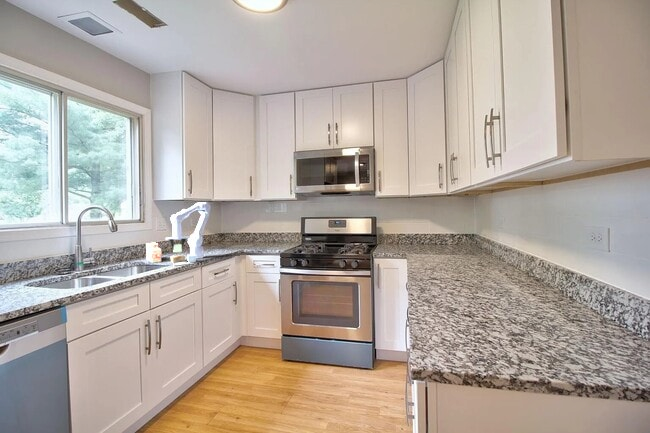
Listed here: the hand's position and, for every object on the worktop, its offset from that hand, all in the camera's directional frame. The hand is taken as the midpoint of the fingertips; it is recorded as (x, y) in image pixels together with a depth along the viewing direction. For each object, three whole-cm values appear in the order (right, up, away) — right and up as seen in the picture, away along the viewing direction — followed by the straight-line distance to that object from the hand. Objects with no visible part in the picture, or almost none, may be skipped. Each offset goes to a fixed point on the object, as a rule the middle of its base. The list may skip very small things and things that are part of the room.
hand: (177, 249), depth 214 cm
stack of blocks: (-20, -9, +5) cm, 22 cm away
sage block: (0, -1, 0) cm, 1 cm away
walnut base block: (0, -9, 0) cm, 9 cm away
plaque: (+9, -9, -13) cm, 18 cm away
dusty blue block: (+12, -9, -3) cm, 15 cm away
